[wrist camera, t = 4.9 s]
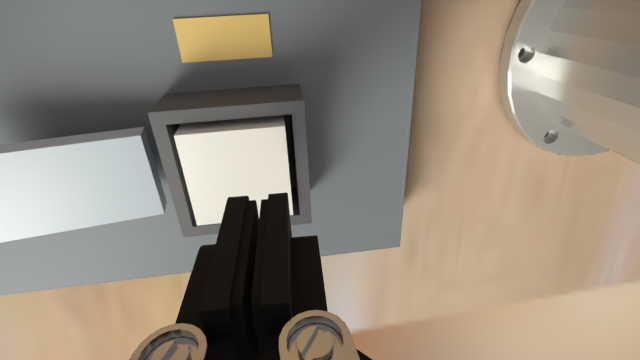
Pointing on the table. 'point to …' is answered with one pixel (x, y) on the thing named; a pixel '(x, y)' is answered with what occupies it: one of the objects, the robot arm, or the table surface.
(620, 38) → the robot arm
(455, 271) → the table surface
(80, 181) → the rocker switch
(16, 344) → the table surface
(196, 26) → the switch panel
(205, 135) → the push button
